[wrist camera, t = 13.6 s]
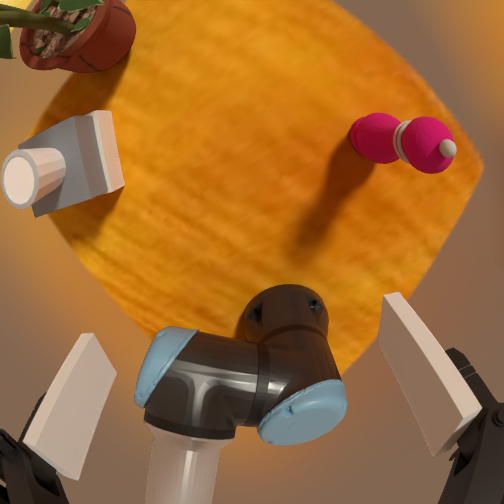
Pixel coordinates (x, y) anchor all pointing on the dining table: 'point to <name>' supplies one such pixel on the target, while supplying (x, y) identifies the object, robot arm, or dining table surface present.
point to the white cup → (31, 175)
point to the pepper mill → (404, 141)
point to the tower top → (71, 163)
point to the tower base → (108, 149)
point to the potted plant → (69, 34)
